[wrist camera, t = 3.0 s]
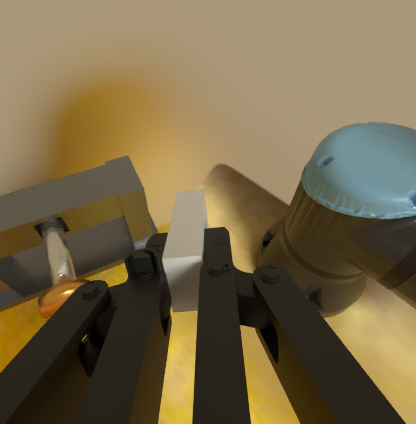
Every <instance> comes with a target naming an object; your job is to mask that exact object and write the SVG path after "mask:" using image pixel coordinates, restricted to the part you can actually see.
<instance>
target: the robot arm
mask: <svg viewBox="0 0 416 424" xmlns="http://www.w3.org/2000/svg"><path fill="white" fill-rule="evenodd" d="M124 262H125V265H126V269H127V272H128V279H127V281H126V282H124V283H121V284H119V285H115V286H112V287H108V284H107V283H106V282H105V281H101V280H93V281H89V282H86V283H85V284H83V285H81V286H79V287H78V288H77V289H76V290H75V291H74V292H73V293H72V294H71V295H70V296H69V298H68V299H67V300H66V301H65V302H64V303H63V304H62V305H61V306H60V308H59V309H58V310H57V311H56V312H55V313H54V314H53V315H52V316H51V318H50V319H49V320H48V321H47V322H46V323H45V324H44V325H43V326H42V328H41V329H40V330H39V331H38V332H37V333H36V334H35V335H34V336H33V337H32V339H31V340H30V341H29V342H28V343H27V344H26V345H25V346H24V347H23V349H22V350H21V351H20V352H19V353H18V354H17V355H16V356H15V357H14V359H13V360H12V361H11V362H10V363H9V364H8V365H7V366H6V367H5V369H4V370H3V371H2V372H1V373H0V424H158V418H159V411H160V404H161V397H162V389H163V382H164V375H165V368H166V361H167V353H168V346H169V339H170V332H171V324H172V319H171V314H170V309H171V305H172V309H173V312H183V311H196V310H198V319H197V339H196V360H195V381H194V401H193V422H192V424H251V420H250V411H249V402H248V393H247V384H246V375H245V366H244V357H243V348H242V339H241V330H240V325H244V326H249V327H253V328H255V330H256V333H257V335H258V337H259V339H260V341H261V343H262V345H263V347H264V349H265V351H266V354H267V356H268V358H269V360H270V362H271V364H272V366H273V368H274V370H275V372H276V374H277V376H278V378H279V380H280V382H281V384H282V387H283V389H284V391H285V393H286V395H287V397H288V399H289V401H290V403H291V405H292V407H293V409H294V411H295V413H296V415H297V417H298V419H299V422H300V424H406V423H405V422H404V421H403V419H402V418H401V417H400V416H399V414H398V413H397V412H396V410H395V409H394V408H393V407H392V405H391V404H390V403H389V401H388V400H387V399H386V398H385V396H384V395H383V394H382V393H381V391H380V390H379V389H378V387H377V386H376V385H375V384H374V382H373V381H372V380H371V378H370V377H369V376H368V375H367V373H366V372H365V371H364V369H363V368H362V367H361V366H360V364H359V363H358V362H357V361H356V359H355V358H354V357H353V355H352V354H351V353H350V352H349V350H348V349H347V348H346V346H345V345H344V344H343V343H342V341H341V340H340V339H339V338H338V336H337V335H336V334H335V332H334V331H333V330H332V329H331V327H330V326H329V325H328V323H327V322H326V321H325V320H324V318H326V317H331V316H335V315H337V314H339V313H341V312H343V311H345V310H346V309H347V308H348V307H350V306H351V305H352V304H353V303H354V302H356V300H357V299H358V298H359V297H360V295H361V293H362V292H363V289H364V287H365V283H366V279H367V276H370V277H371V278H373V279H374V280H376V281H377V282H379V283H380V284H381V285H383V286H384V287H386V288H387V289H388V290H390V291H391V292H393V293H394V294H395V295H397V296H398V297H400V298H401V299H402V300H404V301H405V302H407V303H408V304H409V305H411V306H412V307H414V308H415V309H416V130H415V129H411V128H408V127H404V126H400V125H396V124H390V123H378V122H369V123H366V124H353V125H348V126H345V127H343V128H340V129H337V130H335V131H334V132H332V133H330V134H329V135H328V136H326V137H325V138H324V139H323V140H322V141H321V142H320V143H319V145H318V146H317V148H316V150H315V152H314V154H313V155H312V157H311V159H310V161H309V162H308V163H307V164H306V166H305V167H304V170H303V172H302V176H301V180H300V183H299V185H298V187H297V190H296V192H295V195H294V197H293V199H292V202H291V204H290V206H289V209H288V211H287V214H286V216H285V217H283V218H282V219H281V220H279V221H278V222H277V223H275V224H274V225H273V226H272V227H271V228H270V229H269V230H268V231H267V232H266V234H265V235H264V237H263V239H262V241H261V244H260V246H259V249H258V253H257V269H256V270H255V271H254V272H253V274H252V273H246V272H242V271H240V270H238V269H237V268H236V267H235V266H234V265H233V262H232V253H231V245H230V236H229V231H228V230H227V229H226V228H225V227H218V228H208V220H207V212H206V204H205V195H204V189H203V190H193V191H184V192H178V193H177V198H176V202H175V206H174V210H173V214H172V219H171V223H170V227H169V231H168V233H159V234H153V235H152V236H151V237H150V238H149V239H148V240H147V243H146V247H145V248H142V249H137V250H135V251H132V252H131V253H129V254H128V255H126V257H125V258H124ZM85 335H87V336H86V337H85ZM84 337H85V339H84V340H83V341H82V339H83V338H84Z"/></svg>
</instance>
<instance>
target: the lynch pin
mask: <svg viewBox="0 0 416 424" xmlns="http://www.w3.org/2000/svg"><path fill="white" fill-rule="evenodd" d="M40 227H41V232H42V236H43V241H44V246H45V250H46V255H47V260H48V264H49V269H50V274H51V279H52V283H53V287H51V288H49V289H47V290H46V291H45V292H43V293H42V294H41V296H40V297H39V299H38V304H39V310H40V314H41V316H42V317H44V318H47V319H50V318H51V316H52V315H53V314H54V313H55V312H56V311H57V310H58V309H59V308H60V306H61V305H62V304H63V303H64V302H65V301H66V300H67V299H68V298H69V296H70V295H71V294H72V293H73V292H74V291H75V290H76V289H77V288H78V287H79V286H81V285H83V284H85V283H86V282H89V280H85V279H76V276H75V272H74V268H73V264H72V260H71V256H70V253H69V249H68V245H67V241H66V237H65V233H64V230H63V226H62V222H61V218H60V217H58V218H55V219H52V220H49V221H46V222H43V223H40Z"/></svg>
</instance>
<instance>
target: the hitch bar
mask: <svg viewBox="0 0 416 424" xmlns="http://www.w3.org/2000/svg"><path fill="white" fill-rule="evenodd" d="M58 217H60V218H61V222H62V226H63V230H64V233H65V237H66V241H67V245H68V249H69V253H70V256H71V260H72V264H73V268H74V272H75V276H76V279H84V278H87V277H89V276H92V275H94V274H97V273H99V272H102V271H104V270H107V269H110V268H112V267H115V266H117V265H120V264H122V263H125V262H124V258H125V257H126V255H128V254H129V253H131V252H132V251H135V250H137V249H142V248H145V247H146V243H147V240H148V239H149V238H150V237H151V236H152V235H153V234H159V233H158V231H157V229H156V227H155V225H154V222H153V220H152V218H151V216H150V214H149V211H148V207H147V202H146V197H145V192H144V188H143V186H142V184H141V181H140V179H139V177H138V175H137V173H136V171H135V169H134V167H133V165H132V163H131V160H130V159H129V156H125V157H121V158H117V159H114V160H110V161H107V162H105V165H103V166H100V167H97V168H94V169H90V170H87V171H84V172H80V173H77V174H73V175H70V176H66V177H63V178H60V179H56V180H53V181H50V182H46V183H43V184H39V185H36V186H33V187H29V188H26V189H23V190H19V191H16V192H12V193H9V194H6V195H2V196H0V312H1V311H3V310H6V309H8V308H11V307H13V306H16V305H18V304H21V303H23V302H26V301H29V300H31V299H34V298H36V297H39V296H41V294H42V293H43V292H45V291H46V290H47V289H49V288H51V287H53V283H52V279H51V274H50V269H49V264H48V260H47V255H46V250H45V246H44V241H43V236H42V232H41V227H40V223H43V222H46V221H49V220H52V219H55V218H58Z"/></svg>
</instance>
